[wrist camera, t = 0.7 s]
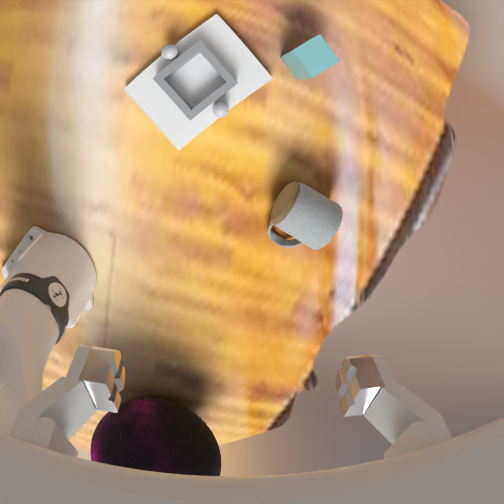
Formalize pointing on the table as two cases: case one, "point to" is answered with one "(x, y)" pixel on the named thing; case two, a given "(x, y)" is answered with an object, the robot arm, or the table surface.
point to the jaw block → (310, 58)
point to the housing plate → (197, 81)
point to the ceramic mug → (304, 217)
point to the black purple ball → (156, 439)
